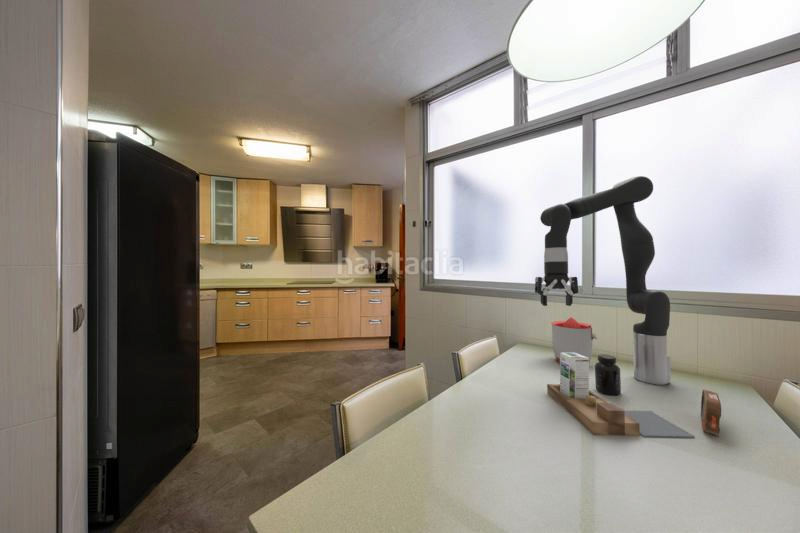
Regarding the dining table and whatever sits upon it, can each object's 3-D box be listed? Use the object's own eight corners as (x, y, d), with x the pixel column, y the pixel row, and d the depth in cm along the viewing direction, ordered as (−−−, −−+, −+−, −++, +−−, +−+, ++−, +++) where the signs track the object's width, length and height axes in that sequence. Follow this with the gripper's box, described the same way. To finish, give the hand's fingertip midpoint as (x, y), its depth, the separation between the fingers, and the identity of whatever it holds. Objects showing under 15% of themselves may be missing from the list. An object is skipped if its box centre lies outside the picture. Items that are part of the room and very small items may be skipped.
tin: (700, 414, 78) (699, 384, 78) (717, 418, 75) (716, 387, 76) (703, 437, 67) (702, 402, 67) (723, 442, 65) (722, 406, 65)
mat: (651, 412, 79) (651, 411, 79) (694, 437, 67) (694, 436, 67) (608, 411, 79) (608, 410, 79) (643, 436, 67) (643, 435, 67)
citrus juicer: (600, 372, 109) (599, 322, 110) (550, 365, 118) (550, 318, 119) (597, 361, 123) (596, 316, 123) (552, 355, 132) (552, 313, 132)
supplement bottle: (611, 388, 95) (611, 353, 95) (626, 397, 88) (625, 359, 88) (590, 387, 95) (590, 352, 96) (603, 396, 89) (602, 359, 89)
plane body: (581, 393, 91) (581, 375, 91) (639, 435, 68) (639, 411, 68) (547, 393, 91) (547, 375, 91) (593, 434, 68) (593, 410, 68)
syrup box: (559, 397, 88) (558, 352, 88) (576, 396, 88) (576, 351, 89) (571, 406, 82) (571, 357, 82) (590, 405, 83) (589, 357, 83)
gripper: (569, 261, 103) (570, 304, 103) (531, 261, 104) (531, 304, 103) (582, 260, 96) (583, 307, 95) (540, 260, 96) (541, 307, 96)
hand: (556, 305), depth 99 cm, fingers open, 8 cm apart
